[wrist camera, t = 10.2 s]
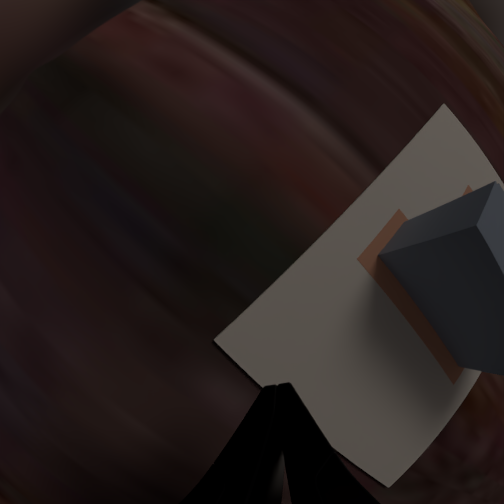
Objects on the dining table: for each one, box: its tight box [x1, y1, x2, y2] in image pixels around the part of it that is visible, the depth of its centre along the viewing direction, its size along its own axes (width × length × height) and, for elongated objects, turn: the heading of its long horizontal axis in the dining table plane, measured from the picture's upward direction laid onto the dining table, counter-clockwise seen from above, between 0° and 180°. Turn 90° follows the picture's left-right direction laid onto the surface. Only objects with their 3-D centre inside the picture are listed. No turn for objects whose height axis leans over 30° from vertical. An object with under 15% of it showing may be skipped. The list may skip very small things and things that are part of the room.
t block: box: [378, 181, 504, 375], centre depth 17 cm, size 14×14×10 cm
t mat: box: [214, 104, 504, 488], centre depth 21 cm, size 34×22×1 cm, turn 134°
